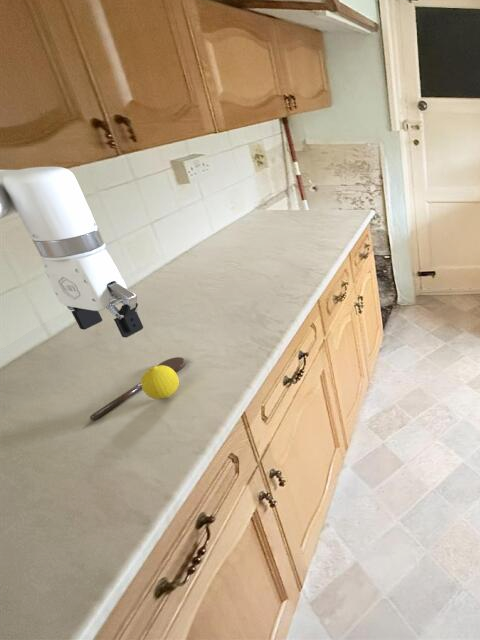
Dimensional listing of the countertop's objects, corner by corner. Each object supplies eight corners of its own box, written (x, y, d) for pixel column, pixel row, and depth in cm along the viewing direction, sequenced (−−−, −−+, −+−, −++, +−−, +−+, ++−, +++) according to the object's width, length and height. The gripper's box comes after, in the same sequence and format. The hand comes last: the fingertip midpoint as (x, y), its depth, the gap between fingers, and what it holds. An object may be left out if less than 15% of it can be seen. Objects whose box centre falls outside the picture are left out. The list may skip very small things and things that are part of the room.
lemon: (143, 403, 81) (127, 373, 77) (172, 385, 85) (158, 355, 82) (163, 410, 79) (147, 379, 76) (190, 390, 84) (177, 361, 80)
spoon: (102, 423, 76) (99, 419, 76) (82, 419, 77) (79, 414, 77) (191, 362, 92) (189, 358, 92) (173, 359, 93) (171, 354, 93)
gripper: (2, 246, 64) (51, 334, 71) (84, 258, 61) (127, 349, 68) (60, 230, 71) (99, 312, 78) (136, 240, 67) (170, 324, 74)
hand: (112, 329), depth 73 cm, fingers open, 9 cm apart
